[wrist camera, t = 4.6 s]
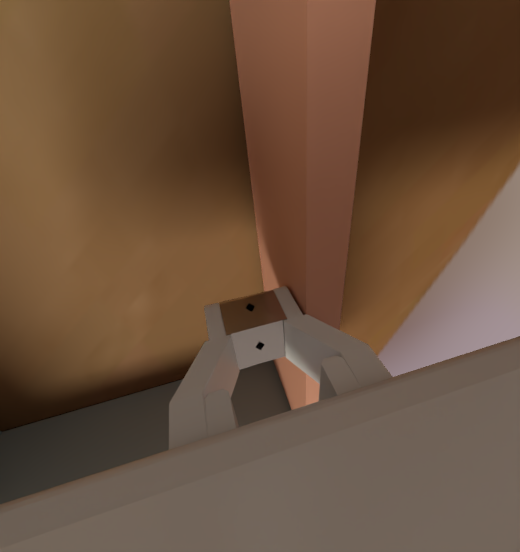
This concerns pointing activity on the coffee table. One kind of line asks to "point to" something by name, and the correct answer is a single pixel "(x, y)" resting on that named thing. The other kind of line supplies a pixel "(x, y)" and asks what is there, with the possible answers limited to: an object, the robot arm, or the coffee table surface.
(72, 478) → the frame
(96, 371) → the coffee table surface
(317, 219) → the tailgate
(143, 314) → the coffee table surface
